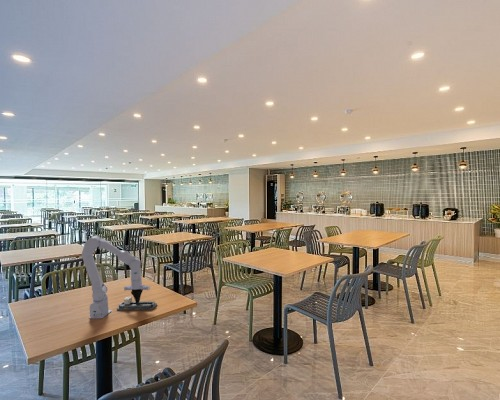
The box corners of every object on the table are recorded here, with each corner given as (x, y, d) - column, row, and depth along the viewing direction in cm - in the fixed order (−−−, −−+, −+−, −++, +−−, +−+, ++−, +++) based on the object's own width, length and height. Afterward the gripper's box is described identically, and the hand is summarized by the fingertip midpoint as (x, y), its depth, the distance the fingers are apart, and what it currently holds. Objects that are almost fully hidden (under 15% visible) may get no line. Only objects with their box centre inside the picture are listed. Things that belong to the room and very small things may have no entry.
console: (151, 310, 160) (151, 306, 160) (116, 310, 162) (116, 306, 162) (157, 305, 168) (157, 300, 168) (123, 305, 170) (123, 300, 170)
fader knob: (128, 306, 163) (128, 299, 163) (124, 306, 164) (123, 299, 163) (132, 304, 167) (131, 296, 167) (127, 304, 167) (127, 296, 167)
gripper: (151, 276, 167) (152, 299, 168) (128, 277, 169) (129, 299, 169) (145, 280, 160) (147, 304, 161) (121, 281, 162) (123, 304, 162)
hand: (137, 302), depth 165 cm, fingers closed
